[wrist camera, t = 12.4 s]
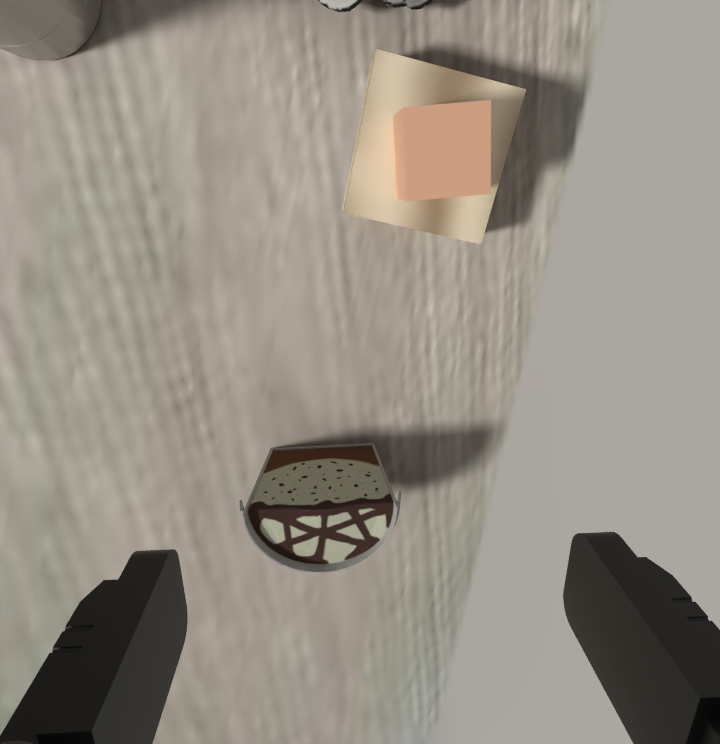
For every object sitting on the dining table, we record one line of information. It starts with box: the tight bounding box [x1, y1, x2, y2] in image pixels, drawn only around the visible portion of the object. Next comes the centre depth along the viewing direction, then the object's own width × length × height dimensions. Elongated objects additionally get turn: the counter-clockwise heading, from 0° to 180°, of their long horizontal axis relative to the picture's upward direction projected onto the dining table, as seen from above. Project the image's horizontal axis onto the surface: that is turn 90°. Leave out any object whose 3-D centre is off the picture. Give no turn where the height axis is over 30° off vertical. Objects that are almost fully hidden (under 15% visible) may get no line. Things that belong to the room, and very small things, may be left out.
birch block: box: [342, 49, 527, 244], centre depth 36 cm, size 10×10×5 cm
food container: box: [240, 443, 401, 573], centre depth 43 cm, size 12×6×10 cm, turn 92°
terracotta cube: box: [393, 100, 491, 201], centre depth 32 cm, size 5×5×5 cm
